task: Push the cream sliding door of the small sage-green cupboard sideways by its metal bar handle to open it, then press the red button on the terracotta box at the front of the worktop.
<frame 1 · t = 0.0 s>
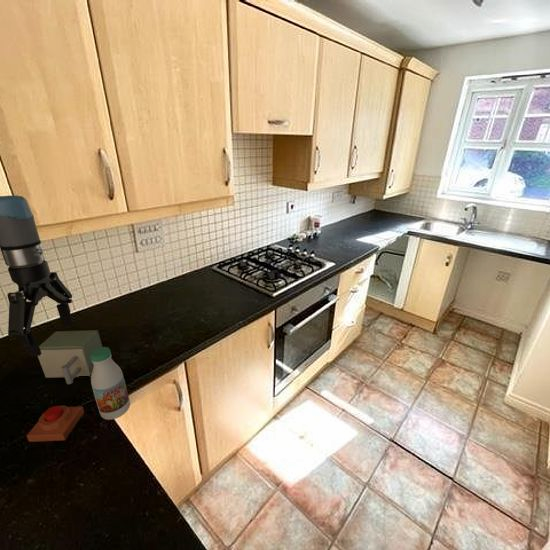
hand: (53, 338, 79), 22 cm above the countertop, tool pointing down, fingers open, 13 cm apart
button box: (58, 426, 81), on the countertop
milk bottle: (116, 410, 86), on the countertop
button: (53, 413, 79), point 4 cm above the countertop, slide at 0.1 cm
slide door: (57, 369, 92), point 6 cm above the countertop, slide at 0.0 cm
cupboard: (78, 368, 103), on the countertop
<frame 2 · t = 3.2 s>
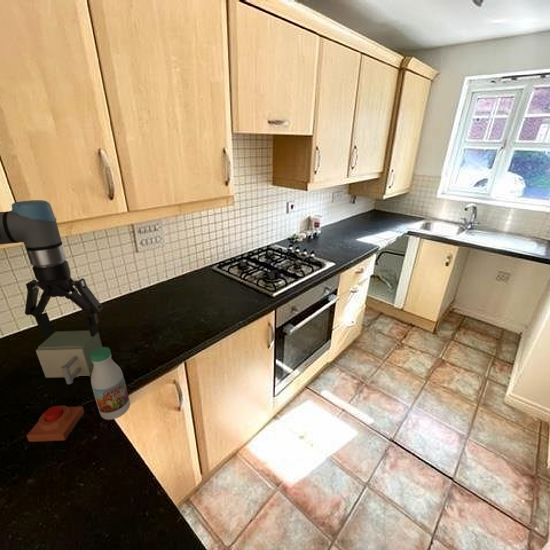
hand: (72, 334, 85), 20 cm above the countertop, tool pointing down, fingers open, 12 cm apart
nothing on the countertop moved.
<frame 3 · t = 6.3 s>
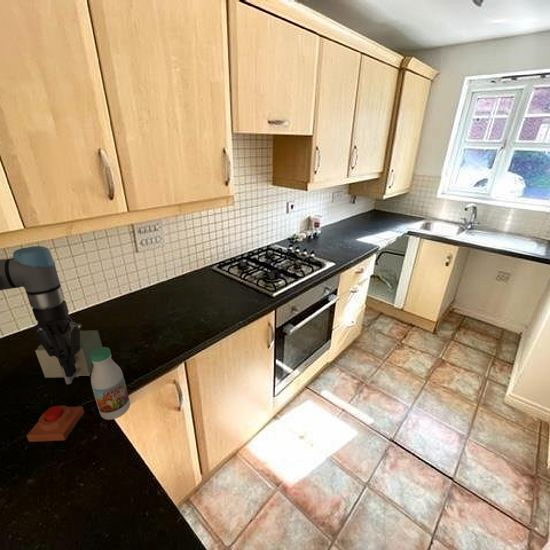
hand: (71, 373, 90), 7 cm above the countertop, tool pointing down, fingers closed
slide door: (57, 369, 92), point 6 cm above the countertop, slide at 0.2 cm, touching gripper
everything else where it was.
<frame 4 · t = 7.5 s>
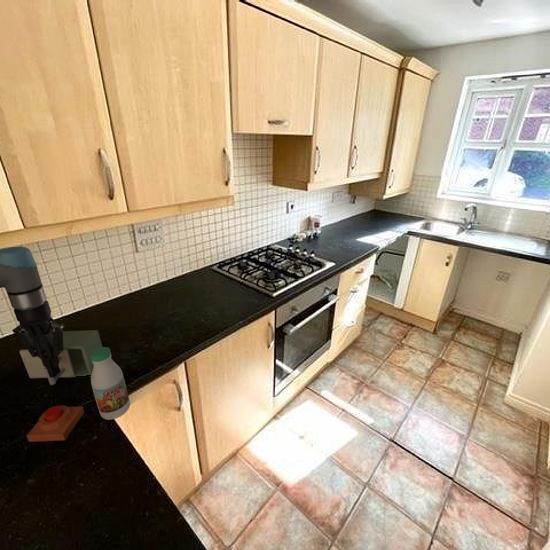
hand: (55, 374, 90), 7 cm above the countertop, tool pointing down, fingers closed
slide door: (41, 370, 92), point 6 cm above the countertop, slide at 5.0 cm, touching gripper
everything else where it was.
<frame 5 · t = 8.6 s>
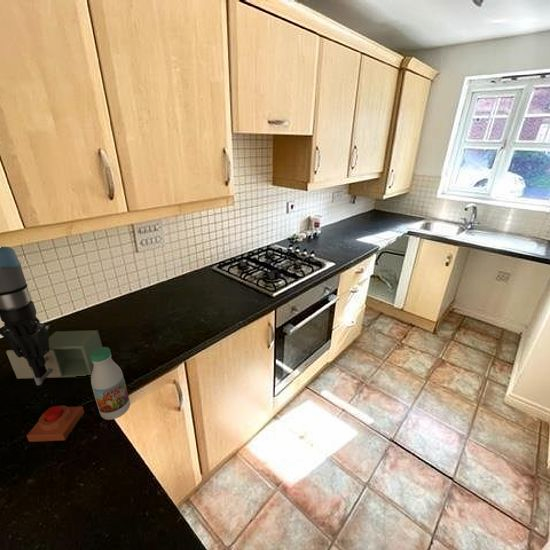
hand: (41, 374, 90), 7 cm above the countertop, tool pointing down, fingers closed
slide door: (28, 370, 92), point 6 cm above the countertop, slide at 9.0 cm, touching gripper
everything else where it was.
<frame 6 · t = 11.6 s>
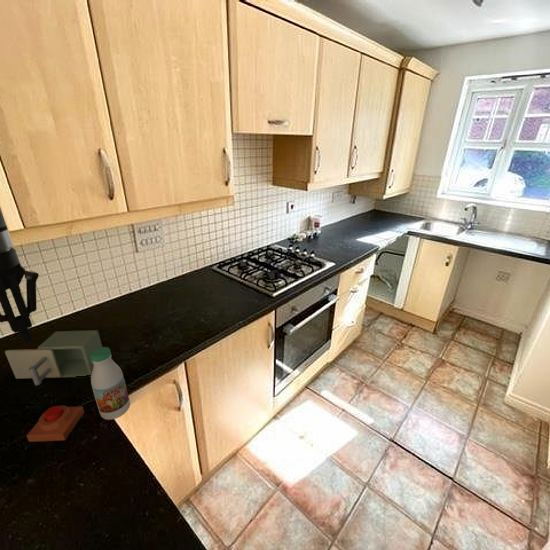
hand: (26, 340, 75), 24 cm above the countertop, tool pointing down, fingers closed
slide door: (26, 370, 92), point 6 cm above the countertop, slide at 9.4 cm
everything else where it was.
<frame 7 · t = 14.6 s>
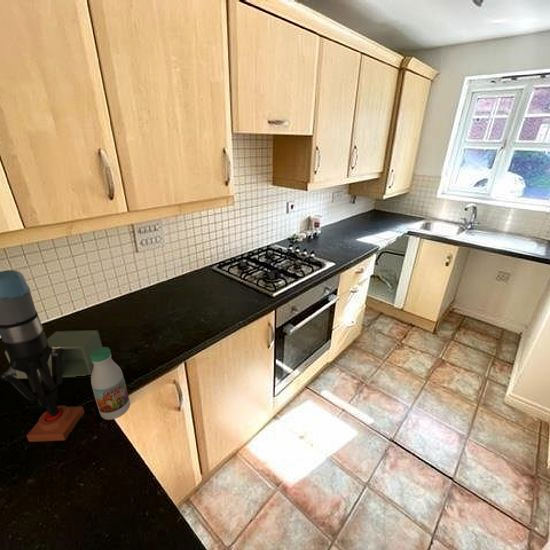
hand: (53, 412, 79), 5 cm above the countertop, tool pointing down, fingers closed
button: (54, 415, 79), point 4 cm above the countertop, slide at -0.6 cm, touching gripper
everything else where it was.
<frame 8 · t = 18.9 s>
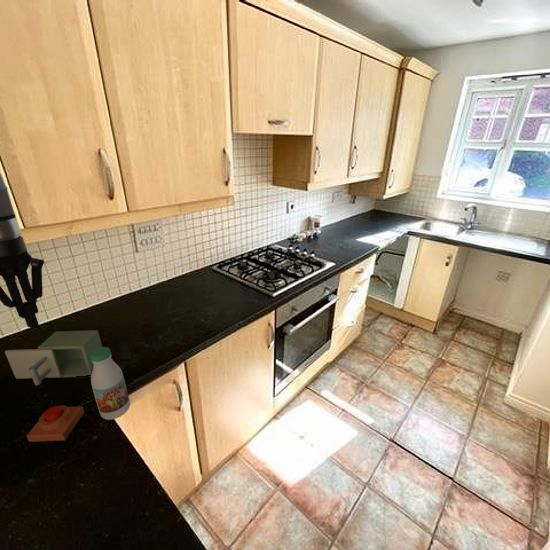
hand: (33, 326, 78), 26 cm above the countertop, tool pointing down, fingers closed
button: (53, 413, 79), point 4 cm above the countertop, slide at 0.1 cm
everything else where it was.
at the end: slide door slide at 9.4 cm; button pushed in 1.0 cm at the most during the clip, back to where it started at the end; button slide at 0.1 cm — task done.
